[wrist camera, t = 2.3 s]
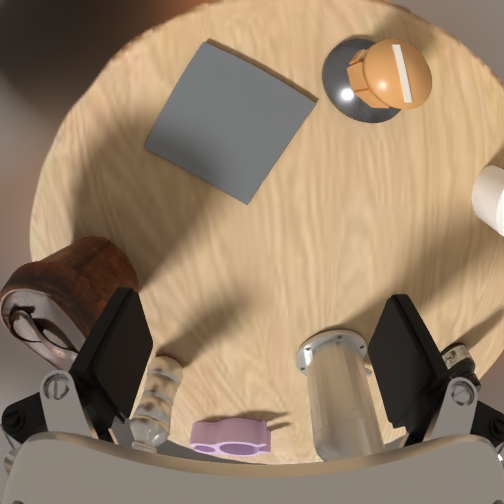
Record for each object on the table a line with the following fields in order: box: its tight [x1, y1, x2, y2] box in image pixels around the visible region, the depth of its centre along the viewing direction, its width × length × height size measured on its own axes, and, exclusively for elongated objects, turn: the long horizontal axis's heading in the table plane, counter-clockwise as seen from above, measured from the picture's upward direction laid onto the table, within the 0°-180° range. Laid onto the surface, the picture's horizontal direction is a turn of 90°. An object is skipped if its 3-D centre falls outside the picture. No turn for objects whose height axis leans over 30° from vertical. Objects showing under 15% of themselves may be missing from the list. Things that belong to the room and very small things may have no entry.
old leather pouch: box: [0, 237, 138, 372], centre depth 30 cm, size 18×20×18 cm
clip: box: [189, 418, 271, 457], centre depth 58 cm, size 20×12×7 cm, turn 102°
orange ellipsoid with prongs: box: [347, 39, 432, 109], centre depth 18 cm, size 6×6×6 cm
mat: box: [144, 42, 316, 205], centre depth 27 cm, size 14×14×1 cm
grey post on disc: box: [322, 39, 401, 123], centre depth 21 cm, size 10×10×8 cm
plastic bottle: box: [130, 356, 183, 453], centre depth 39 cm, size 6×7×20 cm
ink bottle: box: [441, 343, 481, 392], centre depth 41 cm, size 10×9×12 cm
